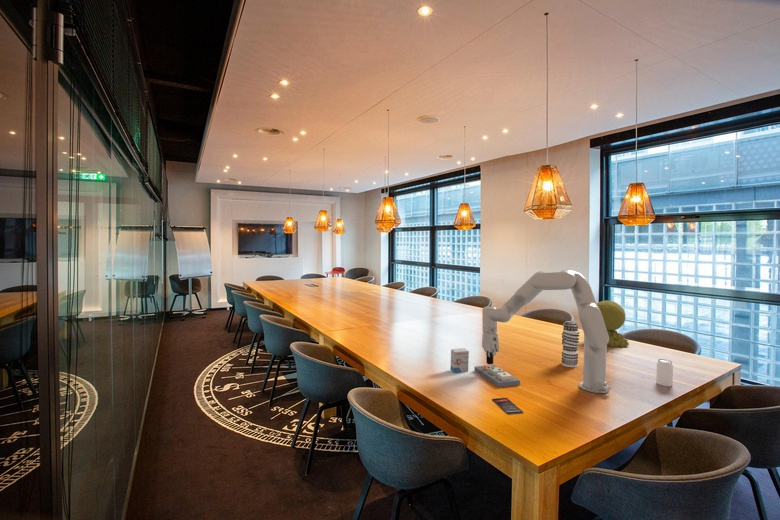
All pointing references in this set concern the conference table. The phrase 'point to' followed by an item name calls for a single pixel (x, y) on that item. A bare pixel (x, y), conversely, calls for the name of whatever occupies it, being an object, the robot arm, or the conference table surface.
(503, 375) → the tile one
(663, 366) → the can
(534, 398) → the conference table surface
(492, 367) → the tile three
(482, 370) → the console
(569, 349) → the leaning tower model
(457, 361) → the ink box
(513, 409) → the smartphone
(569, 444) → the conference table surface
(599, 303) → the trophy
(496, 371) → the tile two
